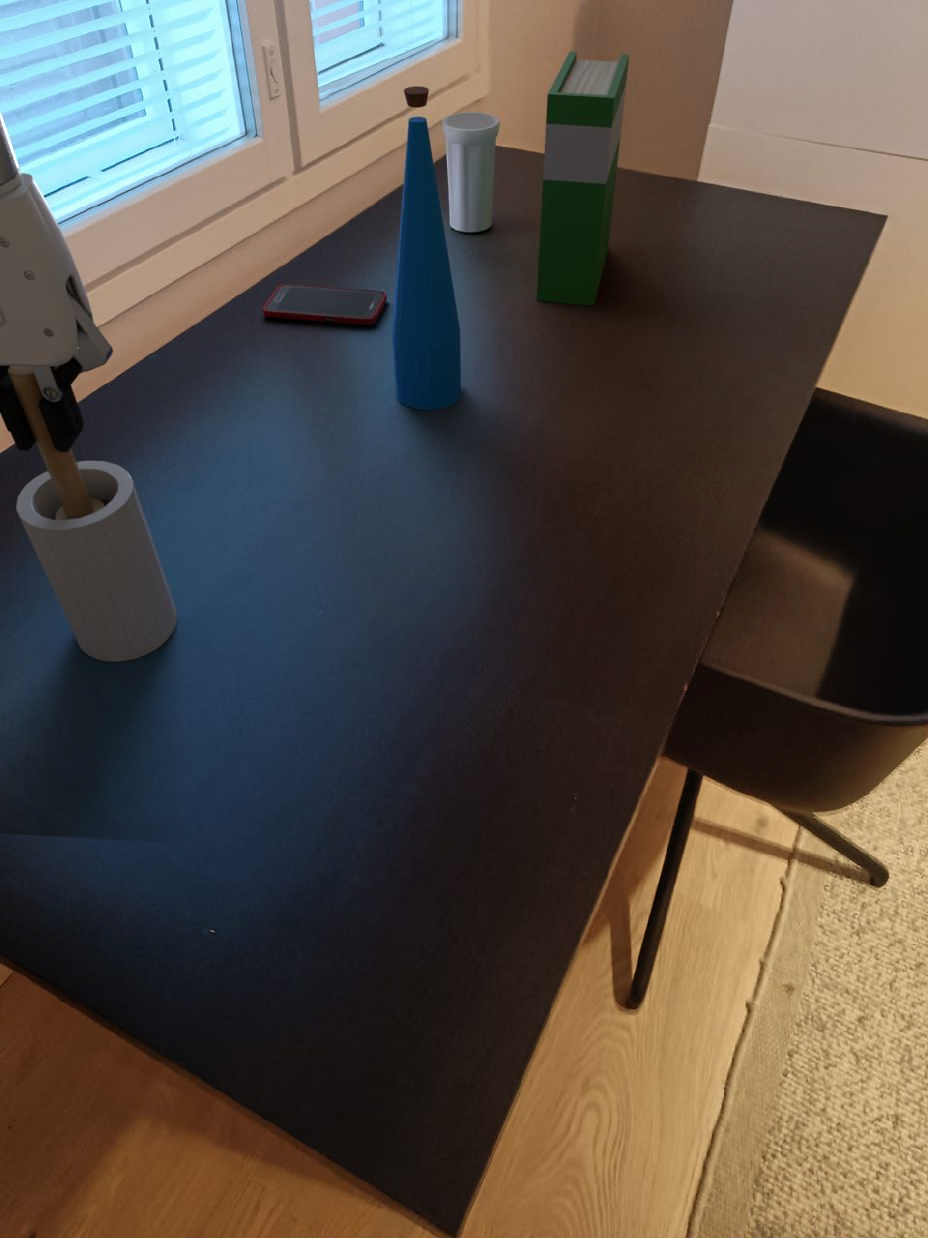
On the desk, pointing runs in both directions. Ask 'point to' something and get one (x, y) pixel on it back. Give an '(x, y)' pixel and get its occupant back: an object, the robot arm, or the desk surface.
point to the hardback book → (579, 177)
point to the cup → (470, 168)
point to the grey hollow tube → (102, 564)
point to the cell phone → (325, 304)
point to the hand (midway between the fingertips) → (51, 438)
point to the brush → (53, 451)
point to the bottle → (424, 282)
